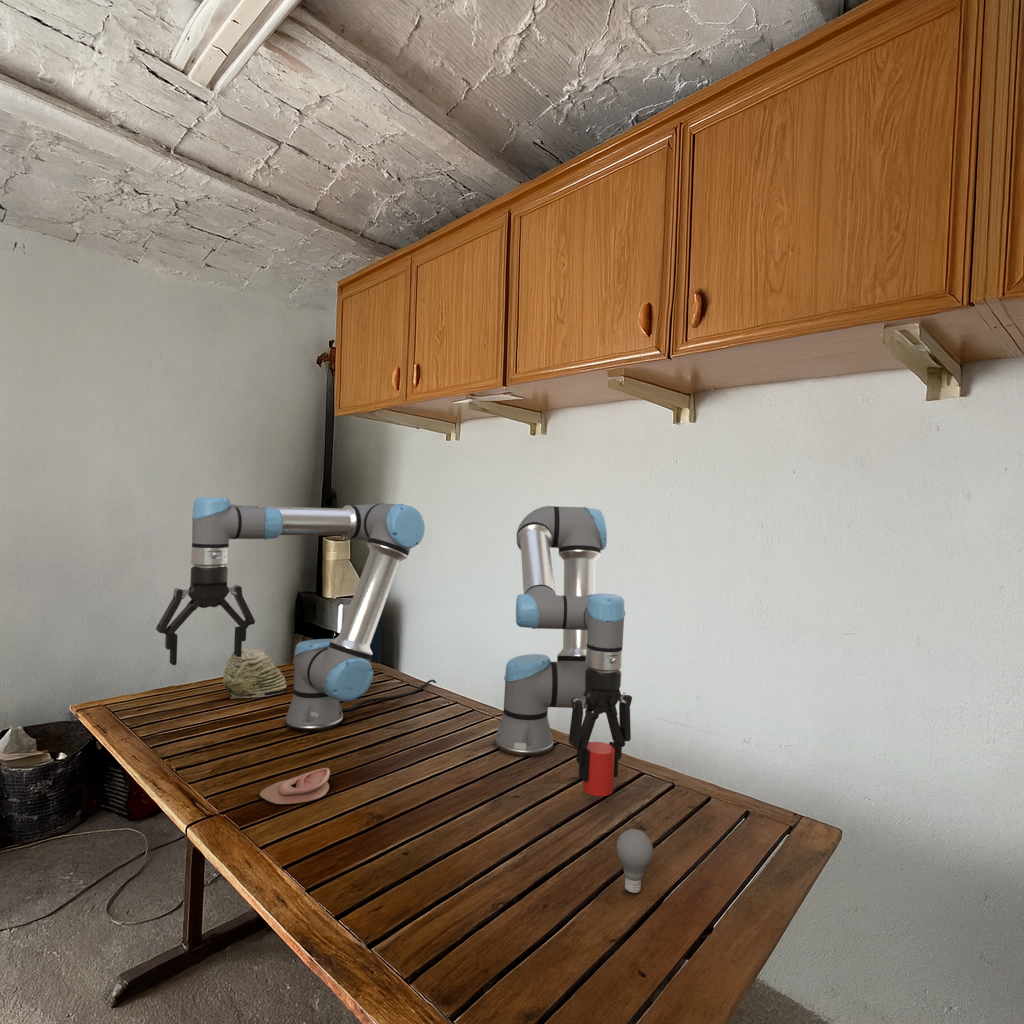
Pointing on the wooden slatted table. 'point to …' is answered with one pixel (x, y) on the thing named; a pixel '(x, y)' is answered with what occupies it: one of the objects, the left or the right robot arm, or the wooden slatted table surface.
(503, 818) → the wooden slatted table surface
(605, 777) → the cylinder
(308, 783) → the anatomical model
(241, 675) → the fossil
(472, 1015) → the wooden slatted table surface
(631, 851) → the light bulb
